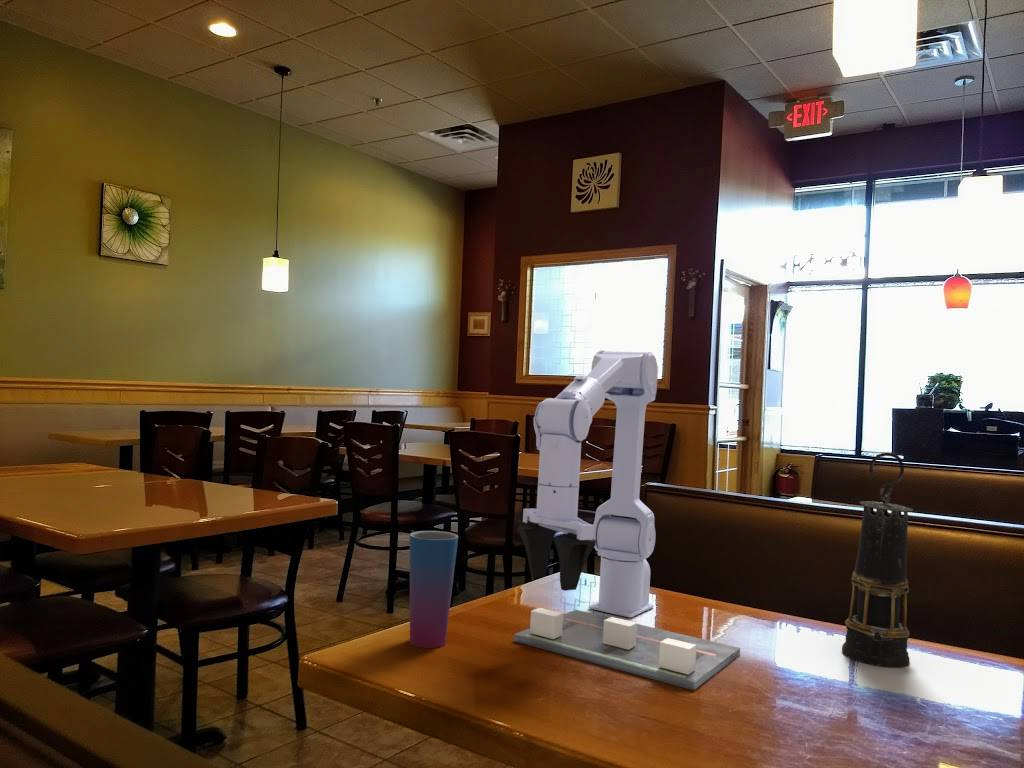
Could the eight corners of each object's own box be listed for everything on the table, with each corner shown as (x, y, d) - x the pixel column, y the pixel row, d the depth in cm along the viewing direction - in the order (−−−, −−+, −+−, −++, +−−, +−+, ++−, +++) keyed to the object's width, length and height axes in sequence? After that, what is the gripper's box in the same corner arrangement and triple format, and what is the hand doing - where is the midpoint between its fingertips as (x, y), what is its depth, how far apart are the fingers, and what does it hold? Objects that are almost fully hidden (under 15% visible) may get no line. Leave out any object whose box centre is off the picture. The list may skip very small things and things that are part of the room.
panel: (575, 615, 124) (575, 609, 124) (739, 654, 109) (740, 647, 109) (513, 641, 109) (514, 634, 109) (694, 690, 94) (694, 682, 94)
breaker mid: (610, 639, 109) (611, 616, 109) (635, 645, 107) (637, 622, 107) (602, 643, 107) (603, 620, 107) (628, 649, 105) (629, 626, 105)
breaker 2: (666, 662, 101) (667, 637, 101) (695, 669, 98) (696, 644, 98) (658, 666, 99) (660, 642, 99) (688, 674, 96) (689, 649, 96)
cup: (449, 651, 103) (455, 541, 103) (399, 648, 103) (406, 538, 104) (454, 636, 110) (460, 532, 110) (407, 633, 110) (413, 529, 110)
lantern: (876, 670, 106) (886, 454, 106) (827, 648, 114) (836, 449, 115) (924, 665, 109) (933, 456, 110) (872, 644, 118) (881, 450, 118)
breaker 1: (538, 629, 112) (539, 607, 112) (562, 635, 110) (563, 613, 110) (529, 632, 110) (530, 610, 110) (553, 639, 108) (554, 616, 108)
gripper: (507, 478, 110) (501, 572, 110) (564, 492, 97) (558, 598, 97) (547, 478, 114) (542, 569, 113) (608, 491, 101) (602, 593, 101)
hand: (553, 582), depth 105 cm, fingers open, 7 cm apart
